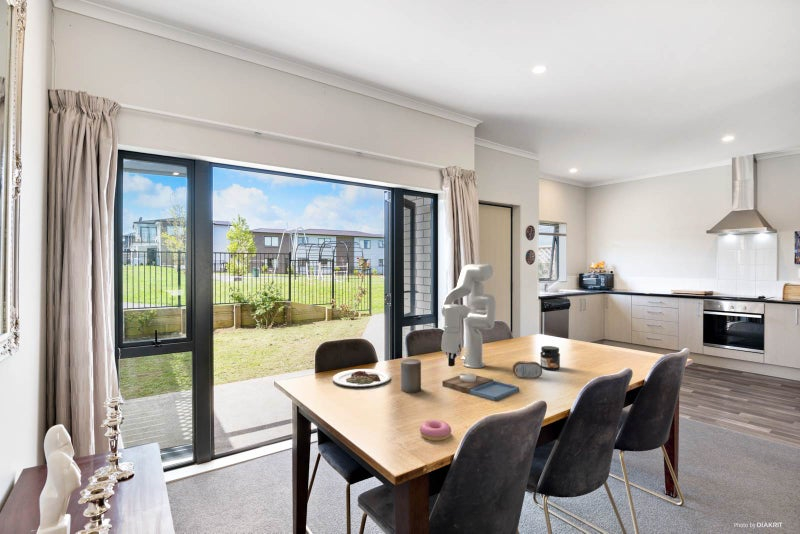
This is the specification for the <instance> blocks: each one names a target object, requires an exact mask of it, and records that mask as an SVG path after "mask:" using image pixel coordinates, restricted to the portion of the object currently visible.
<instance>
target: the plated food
mask: <svg viewBox="0 0 800 534" xmlns="http://www.w3.org/2000/svg"><path fill="white" fill-rule="evenodd" d="M389 380H391V374H390V373H389V372H387V371H384V370H379V369H373V368H371V369H370V368H359V369H357V368H355V369H349V370H345V371H340V372H338V373H336V374H334V375H333V377H332V381H333V382H334V383H335V384H338V385H341V386H346V387H353V388H361V387H362V388H365V387H366V388H367V387H372V386H373V387H374V386H377V385H382V384H384V383H387V382H388V381H389Z"/></svg>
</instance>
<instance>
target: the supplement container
mask: <svg viewBox="0 0 800 534" xmlns="http://www.w3.org/2000/svg"><path fill="white" fill-rule="evenodd" d="M540 349H541V350H540V353H539V355H540V366H541V367H542V370H545V371H553V372H554V371H559V370H560V369H561V361H560V360H561V353H560V347H558V346H553V345H544V346H541V348H540Z"/></svg>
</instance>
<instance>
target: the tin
mask: <svg viewBox="0 0 800 534" xmlns="http://www.w3.org/2000/svg"><path fill="white" fill-rule="evenodd" d="M540 365H541V363H538V362H537V361H525V360H524V361H523V360H521V361H517V362H515V363H514V364H513V365H512V372H513V374H514V376H515V377H516V378H520V379H537V378H540V377H541V376H542V375H543V369H542V367H541V366H540Z"/></svg>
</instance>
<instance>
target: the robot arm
mask: <svg viewBox="0 0 800 534" xmlns="http://www.w3.org/2000/svg"><path fill="white" fill-rule="evenodd" d="M493 275H494V268H493V266H492V264H490V263H469V264H466V265H464V267H462V268H461V270H460V274H459V277H458V280H457V283H456V287H455V288H453V289H452V290H451V291H449V293H447V295H446V296H445V298H444V299H443V303H442V306H441V315H442V316H443V318H444V326H443V328H442V329H443V330H444V331H443V332H442V336H441V343H440V344H441V347H440V348H441V351H442V353H443V354H445V355H446V357H447V358H448V363H447V365H448V367H454V366H456V358H457V357H460V356H461V354H462V349H463V347H462V345H463V344H462V336H461V333H460V320H464V327H465V356H464V355H463V356H461V359H460V360H461V361H464V362H463V366H464V367H465V368H470V369H481V368H484V367H486V363H484V362H483V334H482V332H481V331H480V329H481V330H493V328H494V327H495V322H496V321H495V320H496V303H497V302H496V298H495V296H494V295H492V294H488V293H484V284H483V282H485V281H487V280H490V279H491V278H492V276H493ZM467 296H468V299H467V300H468V301H467V304H468V306H467V305H465V304H456V303H454V301H457V300H458V299H461V298H464V297H467ZM452 303H453V304H452ZM469 309H471V310H473V311H470V310H469ZM474 310H476V311H474ZM478 311H479V312H478ZM481 311H485V312H481Z"/></svg>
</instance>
